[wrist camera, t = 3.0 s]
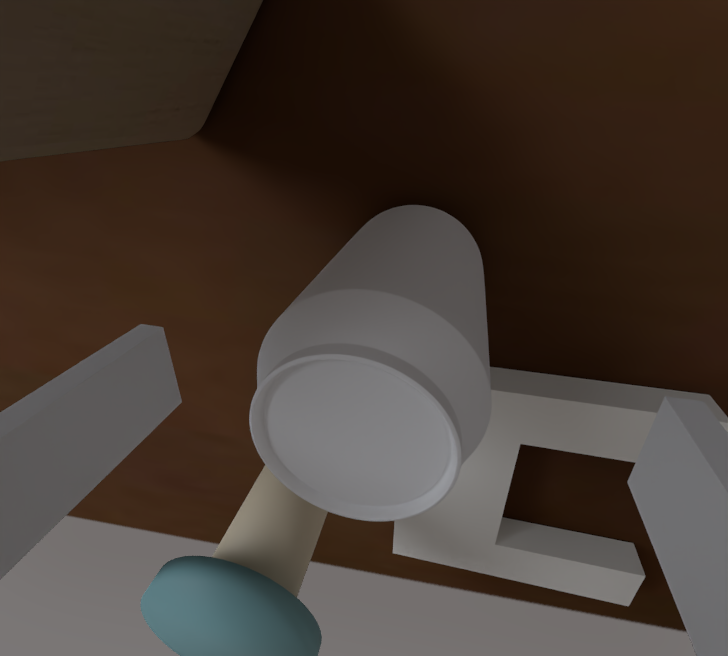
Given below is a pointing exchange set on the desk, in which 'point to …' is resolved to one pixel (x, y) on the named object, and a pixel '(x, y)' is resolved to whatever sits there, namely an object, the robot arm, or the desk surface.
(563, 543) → the u-shaped block
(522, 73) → the desk surface
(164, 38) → the wooden block
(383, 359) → the beverage can
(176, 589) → the bobbin
